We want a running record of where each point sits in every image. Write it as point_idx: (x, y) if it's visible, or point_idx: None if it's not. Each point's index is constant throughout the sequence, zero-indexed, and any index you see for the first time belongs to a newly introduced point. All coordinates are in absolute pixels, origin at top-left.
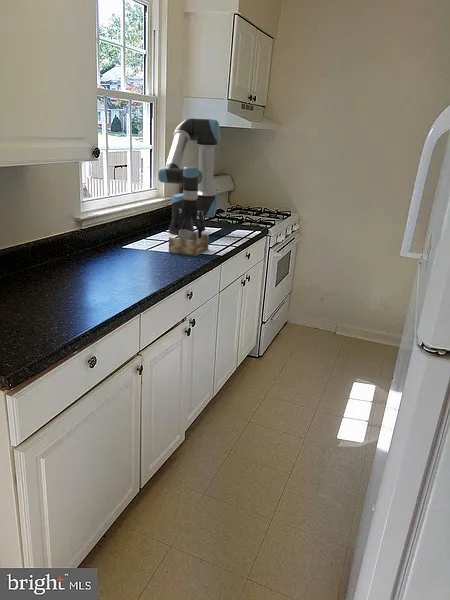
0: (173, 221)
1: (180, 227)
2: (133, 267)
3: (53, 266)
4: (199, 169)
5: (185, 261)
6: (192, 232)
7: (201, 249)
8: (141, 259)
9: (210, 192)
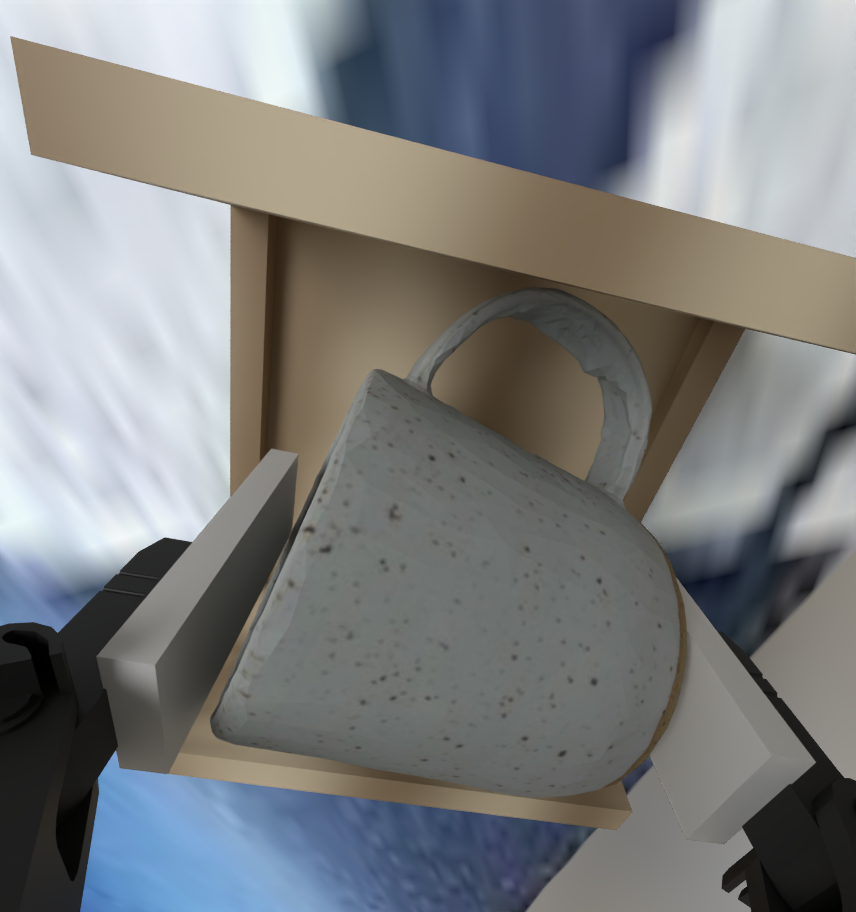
0: None
1: (45, 765)
2: (216, 881)
3: None
4: None
5: None
6: (560, 792)
7: (629, 504)
8: (158, 785)
9: None
